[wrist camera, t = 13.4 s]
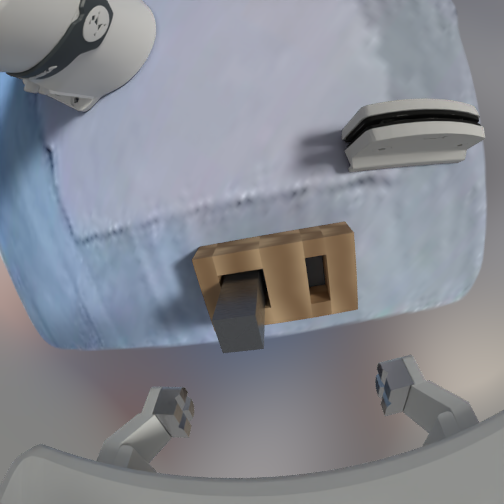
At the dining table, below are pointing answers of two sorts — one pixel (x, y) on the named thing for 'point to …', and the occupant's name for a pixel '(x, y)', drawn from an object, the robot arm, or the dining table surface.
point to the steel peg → (241, 312)
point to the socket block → (286, 271)
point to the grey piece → (411, 133)
